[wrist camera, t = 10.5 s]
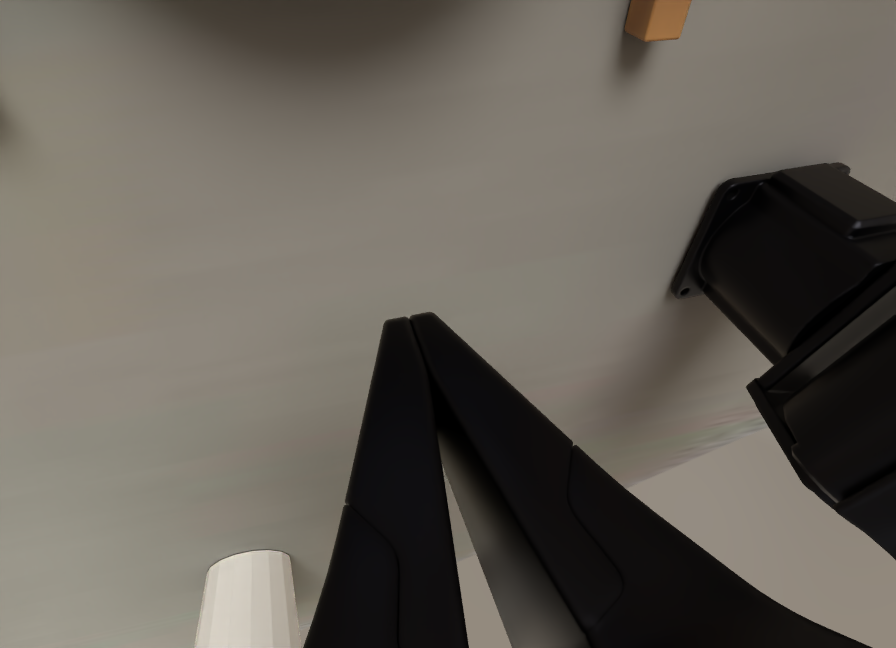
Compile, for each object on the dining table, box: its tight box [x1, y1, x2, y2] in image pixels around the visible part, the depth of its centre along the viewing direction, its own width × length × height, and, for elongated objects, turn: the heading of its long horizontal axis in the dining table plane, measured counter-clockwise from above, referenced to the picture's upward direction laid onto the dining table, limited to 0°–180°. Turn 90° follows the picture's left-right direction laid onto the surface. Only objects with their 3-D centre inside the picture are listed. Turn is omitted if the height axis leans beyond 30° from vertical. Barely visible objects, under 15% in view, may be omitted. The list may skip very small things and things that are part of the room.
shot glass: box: [194, 550, 302, 648], centre depth 32 cm, size 7×7×7 cm
